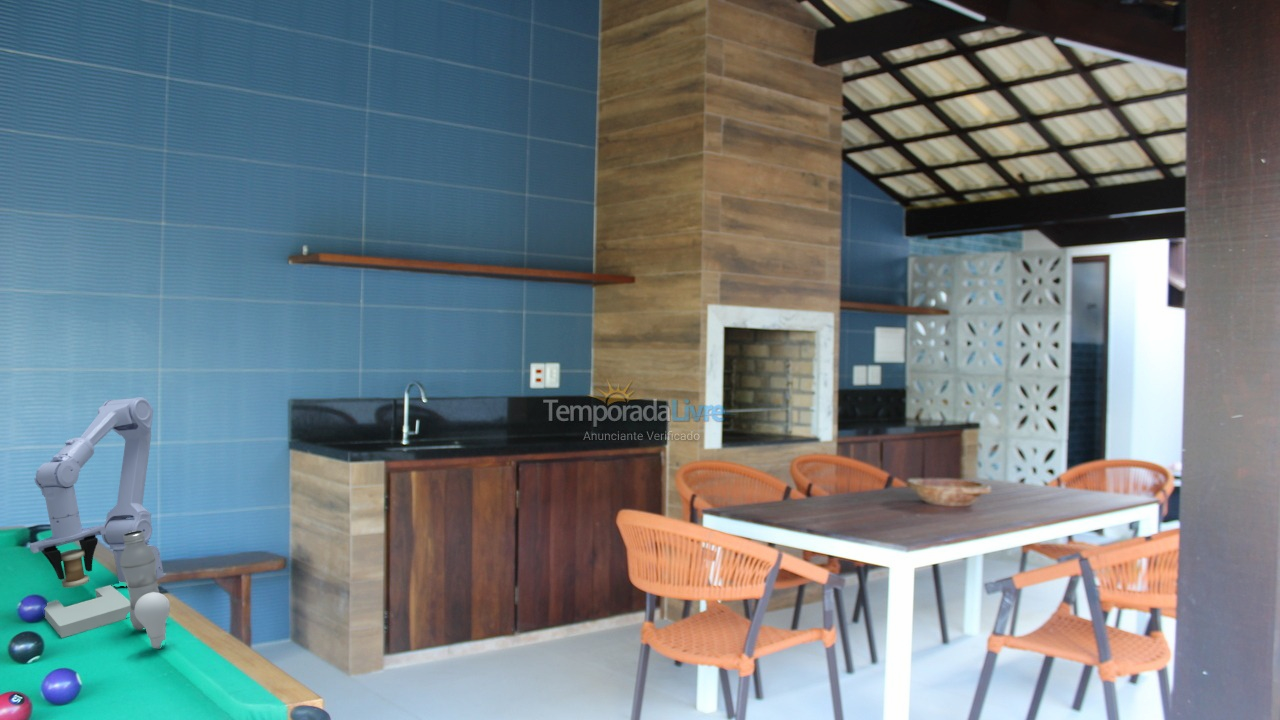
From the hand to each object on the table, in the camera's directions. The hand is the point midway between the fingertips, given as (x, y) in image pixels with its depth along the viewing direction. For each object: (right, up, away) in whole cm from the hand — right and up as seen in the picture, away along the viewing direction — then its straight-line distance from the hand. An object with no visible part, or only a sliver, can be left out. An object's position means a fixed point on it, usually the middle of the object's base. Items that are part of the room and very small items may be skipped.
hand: (75, 574), depth 219 cm
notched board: (+5, -8, -4) cm, 11 cm away
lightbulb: (+33, -8, -30) cm, 46 cm away
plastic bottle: (+25, -7, -17) cm, 32 cm away
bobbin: (0, -2, 0) cm, 2 cm away
